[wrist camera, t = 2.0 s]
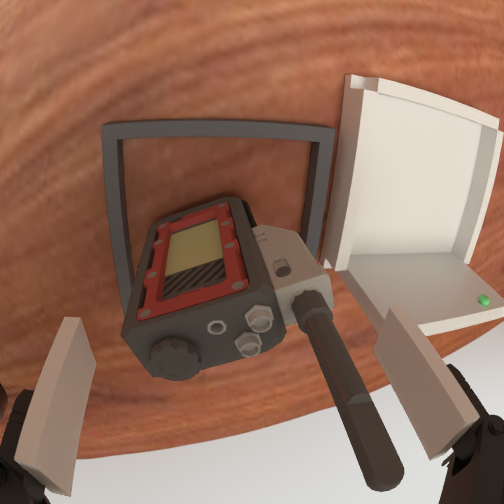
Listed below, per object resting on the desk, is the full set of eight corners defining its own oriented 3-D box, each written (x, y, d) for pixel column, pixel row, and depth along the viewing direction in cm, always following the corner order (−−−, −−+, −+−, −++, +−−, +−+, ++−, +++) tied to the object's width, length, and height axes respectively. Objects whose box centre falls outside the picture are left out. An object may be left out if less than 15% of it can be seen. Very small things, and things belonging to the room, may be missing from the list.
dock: (319, 262, 26) (371, 346, 18) (345, 74, 19) (437, 77, 11) (448, 257, 29) (509, 314, 20) (482, 115, 22) (566, 144, 13)
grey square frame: (127, 306, 26) (124, 318, 24) (107, 122, 18) (101, 125, 17) (300, 301, 28) (305, 312, 27) (327, 126, 21) (335, 129, 20)
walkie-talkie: (265, 176, 22) (441, 453, 5) (280, 230, 24) (412, 495, 7) (148, 216, 22) (83, 525, 5) (171, 266, 24) (163, 551, 7)
